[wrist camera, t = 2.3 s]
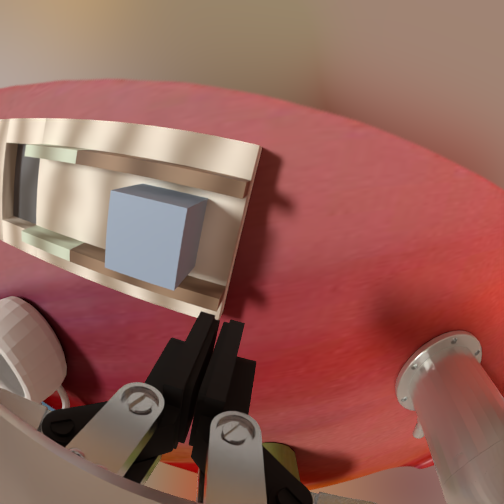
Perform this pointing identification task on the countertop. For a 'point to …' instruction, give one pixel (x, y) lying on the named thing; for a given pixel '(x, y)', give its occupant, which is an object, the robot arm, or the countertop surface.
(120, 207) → the slate block
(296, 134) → the countertop surface
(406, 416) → the countertop surface
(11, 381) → the mug
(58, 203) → the tunnel board
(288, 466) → the plant pot
